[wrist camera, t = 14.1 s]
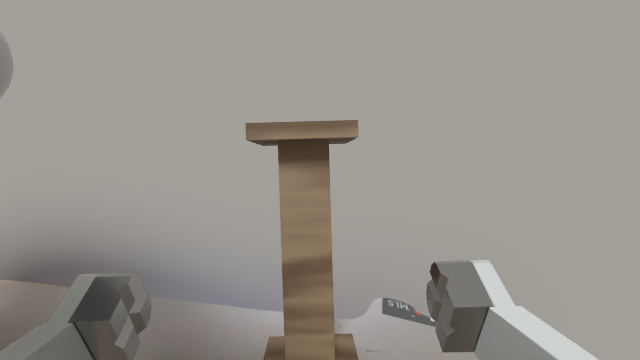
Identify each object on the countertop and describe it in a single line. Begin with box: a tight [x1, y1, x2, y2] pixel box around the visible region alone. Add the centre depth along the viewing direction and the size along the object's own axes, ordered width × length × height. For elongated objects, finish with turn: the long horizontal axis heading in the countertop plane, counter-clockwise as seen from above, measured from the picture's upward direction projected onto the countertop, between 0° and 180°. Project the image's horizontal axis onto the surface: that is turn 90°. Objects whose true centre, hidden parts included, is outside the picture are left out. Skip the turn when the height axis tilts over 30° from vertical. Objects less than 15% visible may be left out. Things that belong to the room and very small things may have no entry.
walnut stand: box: [246, 120, 358, 360], centre depth 41 cm, size 12×10×26 cm
